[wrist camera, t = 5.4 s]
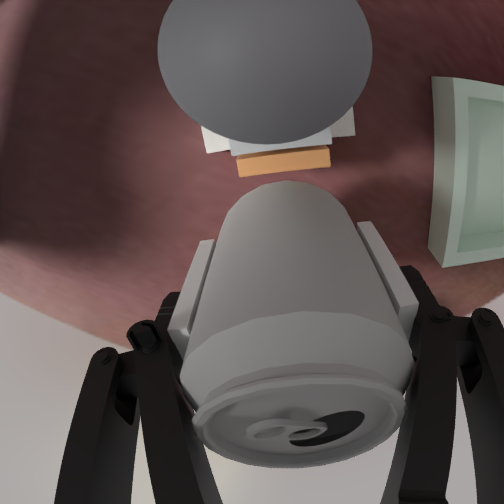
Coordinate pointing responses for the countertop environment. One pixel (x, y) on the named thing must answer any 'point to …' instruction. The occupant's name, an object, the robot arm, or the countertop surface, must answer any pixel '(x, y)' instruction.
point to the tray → (467, 172)
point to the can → (294, 336)
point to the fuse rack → (267, 76)
